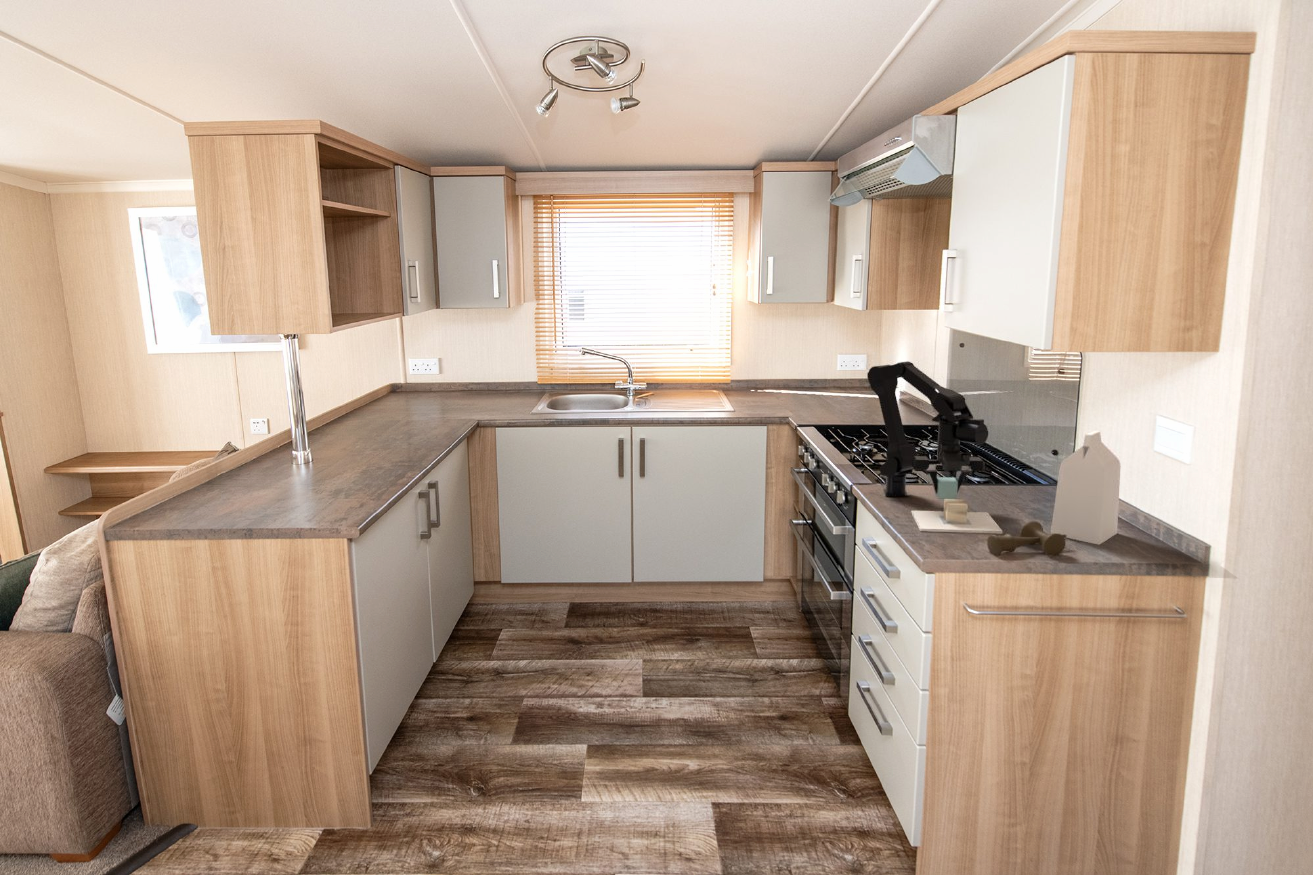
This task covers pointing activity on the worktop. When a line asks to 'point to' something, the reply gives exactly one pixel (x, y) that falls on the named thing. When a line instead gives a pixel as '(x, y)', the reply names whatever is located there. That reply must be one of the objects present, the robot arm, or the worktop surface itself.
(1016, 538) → the kendama
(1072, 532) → the milk
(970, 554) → the worktop surface
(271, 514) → the worktop surface
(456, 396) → the worktop surface
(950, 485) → the teal block
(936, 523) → the baseplate
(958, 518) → the birch block
